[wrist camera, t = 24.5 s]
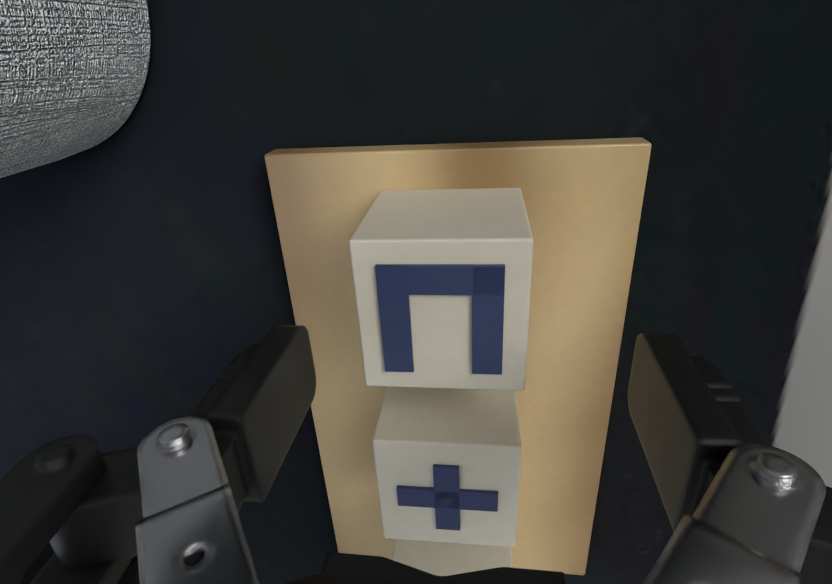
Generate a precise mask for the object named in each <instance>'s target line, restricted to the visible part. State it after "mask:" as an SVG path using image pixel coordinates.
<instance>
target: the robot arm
mask: <svg viewBox="0 0 832 584" xmlns="http://www.w3.org/2000/svg"><path fill="white" fill-rule="evenodd" d="M315 391H316V373H315V367H314V362H313V356H312V350H311V344H310V339H309V333H308V330H307V328H306V327H305V326H303V325H275V326H273V327H272V329H271V330H270V331H269V333H268V334H267V335H266V337H265V338H264V339H263V341H262V342H261V343H260V344H253V345H251V346H250V347H248V348H247V349H245V350H244V351H242V352H241V353H239V354H238V355H237V356H236V357H235V358H234V360H233V361H232V362H231V364H230V365H229V366H228V367H227V370H225V371H224V372H223V374H222V375H221V376H220V377H219V381H216V382H215V384H214V385H213V386H212V388H211V389H210V390H209V391H208V393H207V394H206V395H205V396H204V398H203V399H202V400H201V401H200V403H199V404H198V405H197V406H196V408H195V409H194V410H193V411H192V413H191V414H190V415H189V417H182V418H177V419H174V420H171V421H168V422H166V423H164V424H162V425H160V426H158V427H156V428H155V429H153V430H152V431H151V432H149V433H148V434H147V435H146V436H145V437H144V438H143V440H142V441H141V442H140V444H139V446H138V447H135V448H130V449H125V450H119V451H114V452H108V453H103V454H100V451H99V449H98V447H97V445H96V442H95V441H94V440H93V439H92V438H90V437H88V436H83V435H75V436H68V437H64V438H60V439H57V440H54V441H52V442H49V443H47V444H45V445H43V446H41V447H39V448H38V449H36V450H34V451H33V452H31V453H30V454H29V455H27V456H26V457H25V458H24V459H23V460H22V461H21V462H20V463H19V464H18V465H17V466H15V467H14V468H13V469H12V470H11V471H10V472H9V473H8V474H7V475H6V476H5V477H4V478H3V479H2V480H1V481H0V584H20V581H21V579H22V577H23V575H24V573H25V572H26V570H27V569H28V568H29V567H30V565H31V564H32V563H33V562H34V560H35V559H36V558H37V557H38V555H39V554H40V553H41V552H42V550H43V549H44V548H45V547H46V545H47V544H48V543H50V544H51V546H52V548H53V550H54V553H53V554H52V556H51V557H50V558H49V559H48V561H47V562H46V563H45V565H44V566H43V567H42V568H41V570H40V571H39V572H38V574H37V575H36V576H35V577H34V579H33V580H32V581H31V583H30V584H117V583H118V581H119V580H120V578H121V576H122V575H123V573H124V571H125V570H126V568H127V567H128V565H129V563H130V562H131V560H132V559H133V557H136V556H138V569H139V582H140V584H260V583H259V579H258V576H257V573H256V569H255V566H254V563H253V560H252V556H251V553H250V550H249V547H248V543H247V540H246V537H245V534H244V530H243V527H242V524H241V520H240V517H239V514H238V512H239V510H240V508H241V506H242V504H243V502H244V501H249V502H264V500H265V498H266V496H267V494H268V492H269V490H270V488H271V486H272V484H273V482H274V480H275V478H276V476H277V474H278V471H279V469H280V467H281V465H282V463H283V461H284V459H285V457H286V455H287V453H288V451H289V449H290V447H291V445H292V443H293V441H294V439H295V436H296V434H297V432H298V430H299V428H300V426H301V424H302V422H303V420H304V418H305V416H306V414H307V412H308V410H309V408H310V406H311V404H312V401H313V399H314V396H315ZM628 406H629V411H630V415H631V418H632V420H633V423H634V426H635V429H636V431H637V434H638V437H639V439H640V442H641V445H642V448H643V450H644V453H645V456H646V458H647V461H648V464H649V466H650V469H651V472H652V475H653V477H654V480H655V483H656V485H657V488H658V491H659V494H660V496H661V499H662V502H663V504H664V507H665V510H666V512H667V515H668V518H669V521H670V523H671V526H672V529H673V531H674V533H673V535H672V537H671V538H670V540H669V542H668V543H667V545H666V547H665V548H664V550H663V552H662V553H661V555H660V557H659V558H658V560H657V562H656V563H655V565H654V567H653V568H652V570H651V572H650V573H649V575H648V577H647V579H646V580H645V582H644V584H832V488H830V487H827V486H825V484H824V482H823V480H822V478H821V477H820V475H819V474H818V473H817V472H816V471H815V470H814V469H813V468H812V467H811V466H810V465H809V464H807V463H806V462H804V461H803V460H802V459H800V458H798V457H797V456H795V455H793V454H791V453H788V452H786V451H784V450H781V449H779V448H776V447H773V446H772V445H771V443H770V442H769V440H768V439H767V438H766V436H765V435H764V433H763V432H762V430H761V429H760V427H759V426H758V424H757V423H756V422H755V420H754V419H753V417H752V416H751V414H750V413H749V411H748V410H747V408H746V407H745V406H744V404H743V403H742V402H740V398H739V397H738V395H737V394H736V392H735V391H734V390H733V389H731V385H730V384H729V382H728V381H727V379H726V378H725V376H724V375H723V374H722V372H721V371H720V370H719V369H718V368H717V367H715V366H714V365H712V364H711V363H710V362H708V361H707V360H705V359H704V358H703V357H701V356H689V354H688V353H687V351H686V350H685V348H684V346H683V345H682V343H681V341H680V340H679V338H678V337H677V335H675V334H653V333H640V334H639V335H638V337H637V339H636V344H635V350H634V356H633V362H632V368H631V374H630V380H629V386H628ZM284 584H565V579H564V572H557V571H545V570H534V569H522V568H510V567H498V568H492V569H486V570H480V571H474V572H467V573H461V574H455V575H449V576H437V575H433V574H430V573H428V572H425V571H422V570H419V569H416V568H413V567H411V566H408V565H405V564H402V563H399V562H397V561H394V560H391V559H388V558H385V557H382V556H370V555H359V554H347V553H335V552H327V554H326V557H325V561H324V564H323V567H322V570H321V571H320V572H314V573H311V574H307V575H304V576H300V577H298V578H296V579H293V580H291V581H288V582H286V583H284Z"/></svg>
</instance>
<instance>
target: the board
mask: <svg viewBox="0 0 832 584" xmlns="http://www.w3.org/2000/svg"><path fill="white" fill-rule="evenodd" d="M650 152H651V143H649V142H648V141H646V140H645V139H643V138H609V139H577V140H545V141H514V142H482V143H450V144H418V145H387V146H355V147H323V148H291V149H275V150H273V151H271V152H269V153H268V154H266V155H265V163H266V168H267V173H268V179H269V184H270V189H271V195H272V200H273V205H274V211H275V216H276V221H277V227H278V232H279V237H280V243H281V248H282V253H283V259H284V264H285V270H286V275H287V280H288V286H289V291H290V296H291V302H292V307H293V312H294V318H295V323H296V325H303V326H305V327H306V328H307V330H308V333H309V339H310V344H311V350H312V356H313V362H314V367H315V373H316V391H315V396H314V399H313V401H312V404H311V409H312V414H313V419H314V425H315V430H316V435H317V441H318V446H319V451H320V457H321V462H322V467H323V473H324V478H325V483H326V489H327V494H328V499H329V505H330V510H331V516H332V521H333V526H334V532H335V537H336V542H337V548H338V553H347V554H359V555H370V556H382V557H385V558H388V559H391V557H392V551H393V545H394V539H391V538H385V537H384V532H383V524H382V516H381V507H380V499H379V491H378V483H377V475H376V466H375V458H374V450H373V442H372V440H373V436H374V433H375V429H376V425H377V422H378V418H379V414H380V411H381V407H382V403H383V400H384V396H385V392H386V388H387V387H386V386H367V385H366V382H365V374H364V366H363V357H362V349H361V341H360V333H359V324H358V316H357V308H356V300H355V291H354V283H353V275H352V266H351V258H350V250H349V239H350V238H351V236H352V235H353V233H354V232H355V230H356V229H357V227H358V225H359V224H360V222H361V221H362V219H363V218H364V216H365V215H366V213H367V211H368V210H369V208H370V207H371V205H372V204H373V202H374V201H375V199H376V197H377V196H378V194H379V193H380V191H382V190H425V189H477V188H521V191H522V196H523V200H524V204H525V208H526V212H527V216H528V221H529V225H530V229H531V233H532V237H533V257H532V275H531V293H530V310H529V328H528V345H527V363H526V381H525V389H524V390H523V391H516V393H517V404H518V414H519V425H520V436H521V447H522V448H521V466H520V484H519V502H518V520H517V538H516V546H515V547H511V549H512V567H513V568H522V569H534V570H545V571H557V572H564V574H575V575H585V571H586V564H587V558H588V551H589V545H590V539H591V532H592V526H593V519H594V513H595V506H596V500H597V493H598V487H599V481H600V474H601V468H602V461H603V455H604V448H605V442H606V435H607V429H608V423H609V416H610V410H611V403H612V397H613V390H614V384H615V378H616V371H617V365H618V358H619V352H620V345H621V339H622V332H623V326H624V320H625V313H626V307H627V300H628V294H629V287H630V281H631V274H632V268H633V262H634V255H635V249H636V242H637V236H638V229H639V223H640V216H641V210H642V204H643V197H644V191H645V184H646V178H647V171H648V165H649V158H650Z"/></svg>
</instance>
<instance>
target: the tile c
mask: <svg viewBox="0 0 832 584" xmlns="http://www.w3.org/2000/svg"><path fill="white" fill-rule="evenodd" d="M349 250H350V258H351V266H352V275H353V283H354V291H355V300H356V308H357V316H358V324H359V333H360V341H361V349H362V357H363V366H364V374H365V382H366V385H367V386H386V387H418V388H450V389H481V390H513V391H523V390H524V389H525V381H526V363H527V345H528V328H529V310H530V293H531V275H532V257H533V237H532V233H531V229H530V225H529V221H528V216H527V212H526V208H525V204H524V200H523V196H522V191H521V188H477V189H425V190H382V191H380V193H379V194H378V196H377V197H376V199H375V201H374V202H373V204H372V205H371V207H370V208H369V210H368V211H367V213H366V215H365V216H364V218H363V219H362V221H361V222H360V224H359V225H358V227H357V229H356V230H355V232H354V233H353V235H352V236H351V238H350V239H349Z"/></svg>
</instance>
